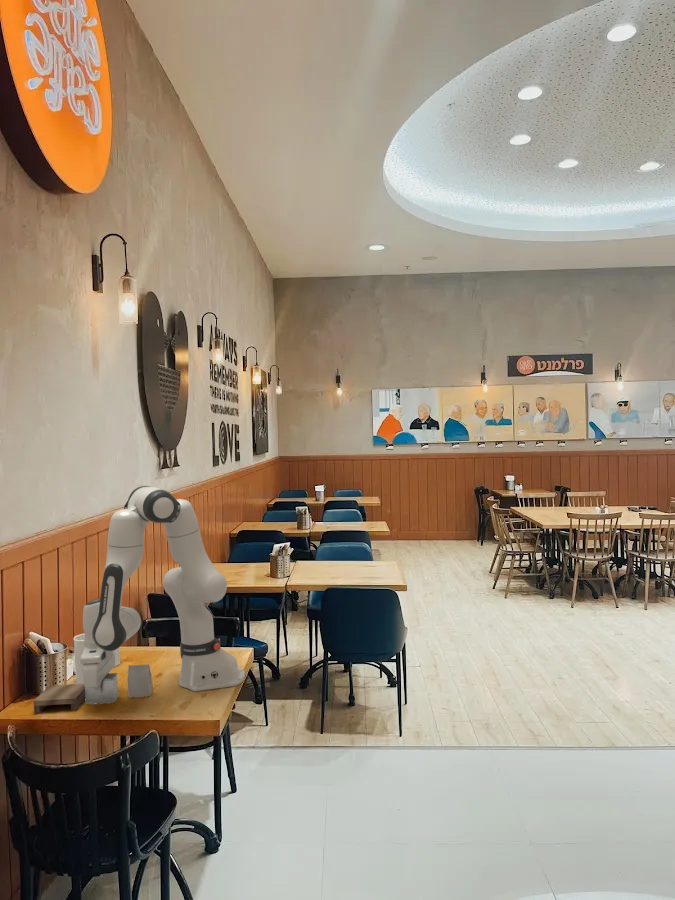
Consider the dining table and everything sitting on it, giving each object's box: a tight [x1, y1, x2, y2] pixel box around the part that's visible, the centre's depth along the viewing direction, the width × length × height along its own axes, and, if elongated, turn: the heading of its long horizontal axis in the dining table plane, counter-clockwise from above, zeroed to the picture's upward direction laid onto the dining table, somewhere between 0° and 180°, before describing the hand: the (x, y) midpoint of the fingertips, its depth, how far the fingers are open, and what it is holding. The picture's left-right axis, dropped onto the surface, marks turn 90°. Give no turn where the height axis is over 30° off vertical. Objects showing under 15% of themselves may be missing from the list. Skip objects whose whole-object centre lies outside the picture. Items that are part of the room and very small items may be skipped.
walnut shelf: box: [33, 683, 86, 714], centre depth 207 cm, size 13×12×4 cm
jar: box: [113, 647, 121, 668], centre depth 241 cm, size 9×8×12 cm
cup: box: [73, 633, 85, 684], centre depth 225 cm, size 8×8×16 cm
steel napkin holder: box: [85, 672, 119, 705], centre depth 208 cm, size 9×5×8 cm, turn 92°
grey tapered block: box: [127, 664, 153, 699], centre depth 211 cm, size 4×7×10 cm, turn 91°
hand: (101, 690), depth 208 cm, fingers closed on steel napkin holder, 4 cm apart
